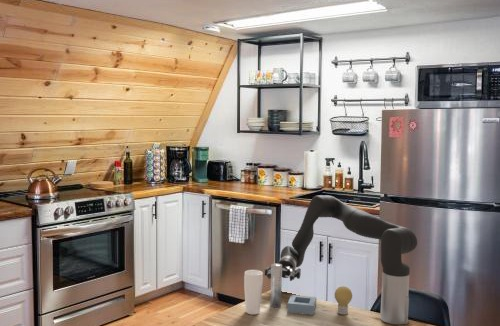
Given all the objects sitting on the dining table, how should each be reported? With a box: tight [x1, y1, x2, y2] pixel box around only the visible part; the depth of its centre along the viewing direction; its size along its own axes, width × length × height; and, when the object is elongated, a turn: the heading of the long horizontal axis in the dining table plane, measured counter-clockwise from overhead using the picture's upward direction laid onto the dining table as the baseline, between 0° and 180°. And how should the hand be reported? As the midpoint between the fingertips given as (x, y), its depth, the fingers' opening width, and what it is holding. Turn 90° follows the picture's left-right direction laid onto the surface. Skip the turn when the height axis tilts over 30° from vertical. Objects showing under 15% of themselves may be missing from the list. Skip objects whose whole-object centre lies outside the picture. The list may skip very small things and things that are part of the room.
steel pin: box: [269, 263, 283, 309], centre depth 196 cm, size 4×4×16 cm
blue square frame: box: [286, 294, 317, 316], centre depth 194 cm, size 10×10×4 cm
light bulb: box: [334, 286, 353, 316], centre depth 191 cm, size 6×6×10 cm
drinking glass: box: [243, 269, 264, 316], centre depth 189 cm, size 7×7×15 cm
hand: (280, 277), depth 204 cm, fingers open, 8 cm apart
